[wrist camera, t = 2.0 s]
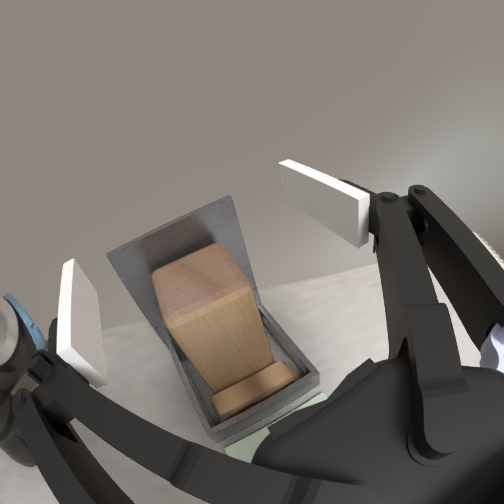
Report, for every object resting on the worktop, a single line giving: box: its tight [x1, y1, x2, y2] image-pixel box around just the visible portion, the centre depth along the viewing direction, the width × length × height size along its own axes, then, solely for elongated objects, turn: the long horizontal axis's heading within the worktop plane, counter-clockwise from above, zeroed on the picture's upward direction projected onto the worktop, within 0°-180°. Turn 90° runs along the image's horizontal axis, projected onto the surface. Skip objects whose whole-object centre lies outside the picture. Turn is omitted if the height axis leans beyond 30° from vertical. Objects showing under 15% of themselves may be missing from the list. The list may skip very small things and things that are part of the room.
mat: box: [224, 392, 328, 463], centre depth 31 cm, size 16×10×1 cm, turn 119°
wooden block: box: [152, 243, 274, 394], centre depth 38 cm, size 10×10×20 cm
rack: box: [107, 195, 320, 442], centre depth 35 cm, size 17×17×24 cm
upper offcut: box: [211, 360, 294, 420], centre depth 36 cm, size 11×3×2 cm, turn 118°
